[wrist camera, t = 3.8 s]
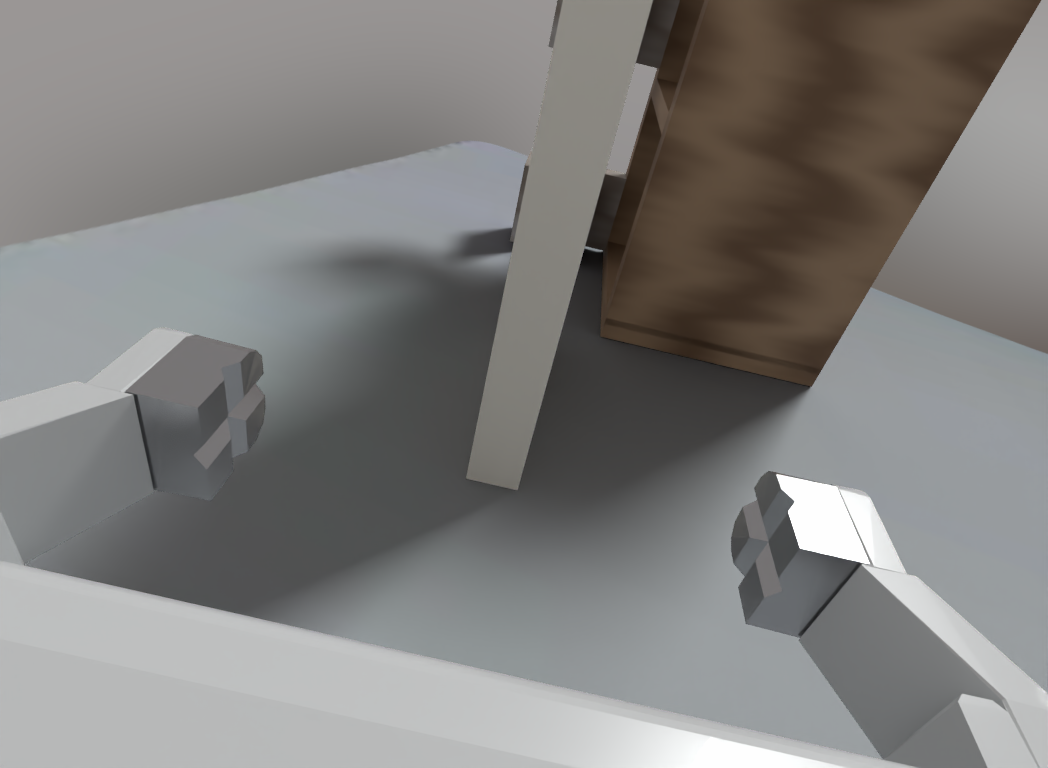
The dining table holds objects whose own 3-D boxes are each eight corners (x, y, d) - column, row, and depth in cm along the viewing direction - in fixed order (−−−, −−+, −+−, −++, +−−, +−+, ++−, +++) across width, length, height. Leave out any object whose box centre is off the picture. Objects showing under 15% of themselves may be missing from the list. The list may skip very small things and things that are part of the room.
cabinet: (765, 286, 44) (948, -94, 31) (811, 386, 34) (1110, -117, 21) (516, 226, 44) (598, -183, 31) (486, 309, 34) (591, -249, 21)
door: (544, 341, 32) (654, -81, 22) (517, 490, 23) (682, -106, 13) (506, 332, 32) (599, -95, 22) (465, 478, 23) (588, -129, 13)
